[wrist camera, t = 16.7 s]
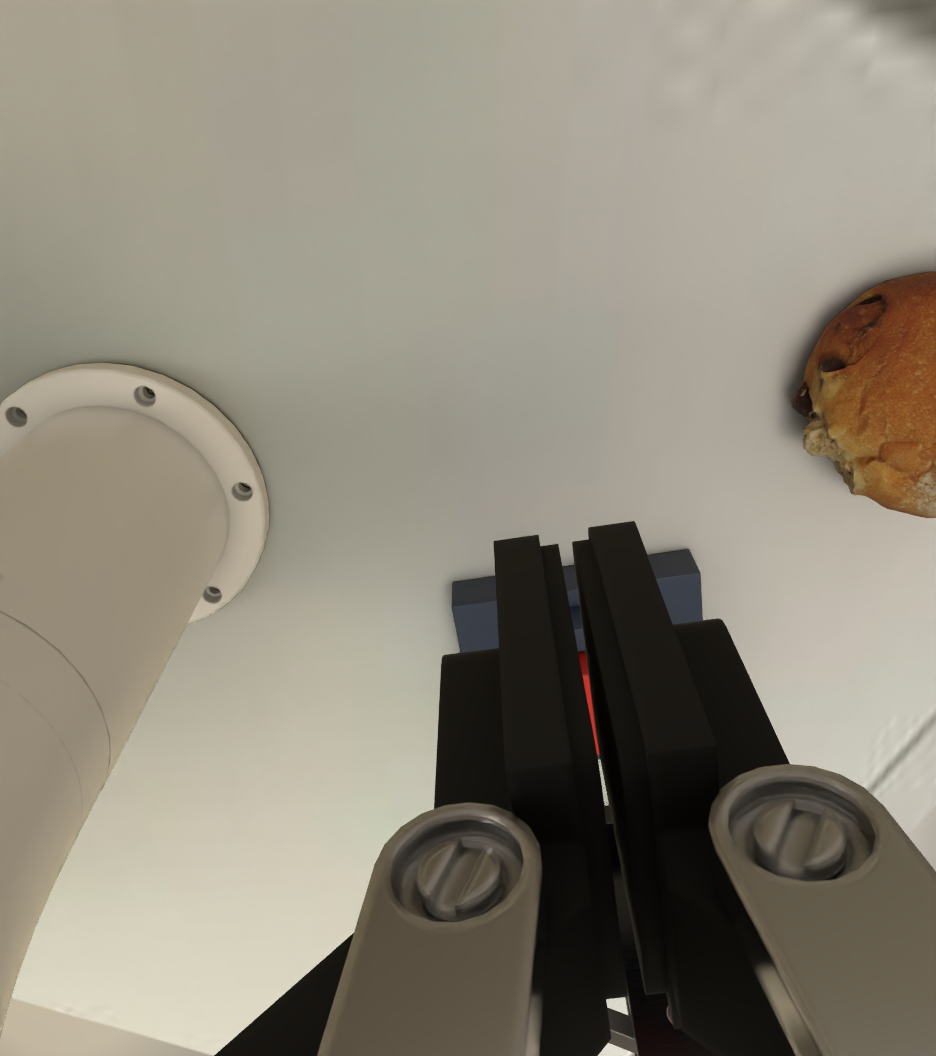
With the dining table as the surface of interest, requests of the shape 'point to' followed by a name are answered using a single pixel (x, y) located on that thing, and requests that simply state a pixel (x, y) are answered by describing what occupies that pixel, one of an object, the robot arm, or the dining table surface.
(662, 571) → the button housing
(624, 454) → the dining table surface
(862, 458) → the bread roll
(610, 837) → the lever bracket
